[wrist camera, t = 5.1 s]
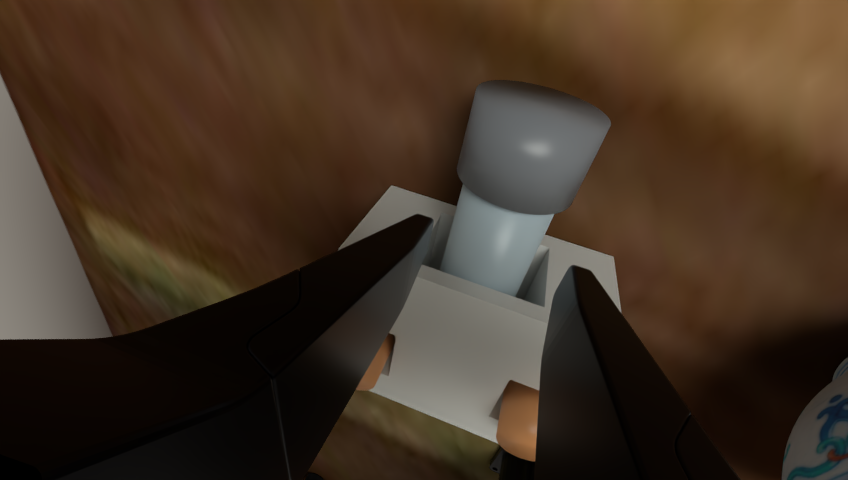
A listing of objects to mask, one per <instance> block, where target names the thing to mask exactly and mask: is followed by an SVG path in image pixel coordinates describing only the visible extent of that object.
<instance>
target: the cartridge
mask: <svg viewBox="0 0 848 480" xmlns="http://www.w3.org/2000/svg"><path fill="white" fill-rule="evenodd" d="M610 126H611V122H610V119H609V118H608V117H607V115H606V114H604V113H603V112H602V111H601V110H599V109H598V108H596V107H595V106H593V105H591V104H590V103H588V102H586V101H584V100H582V99H579V98H577V97H575V96H572V95H570V94H567V93H564V92H561V91H558V90H555V89H552V88H548V87H544V86H540V85H536V84H531V83H525V82H519V81H509V80H493V81H487V82H483V83H481V84H479V85H478V86H477V88H476V92H475V96H474V100H473V104H472V108H471V112H470V116H469V120H468V124H467V129H466V133H465V137H464V141H463V145H462V149H461V153H460V157H459V161H458V165H457V174H458V176H459V178H460V180H461V181H462V183H463V185H462V189H461V193H460V197H459V200H458V204H457V208H456V212H455V215H454V219H453V223H452V226H451V230H450V234H449V238H448V241H447V245H446V249H445V252H444V256H443V260H442V264H441V267H440V271H442V272H445V273H448V274H451V275H453V276H456V277H459V278H462V279H465V280H468V281H471V282H473V283H476V284H479V285H482V286H485V287H488V288H491V289H493V290H496V291H499V292H502V293H505V294H508V295H510V296H513V297H515V296H516V294H517V292H518V290H519V288H520V285H521V283H522V281H523V279H524V277H525V275H526V273H527V271H528V269H529V267H530V264H531V262H532V260H533V258H534V256H535V254H536V252H537V250H538V248H539V245H540V243H541V241H542V239H543V237H544V235H545V233H546V231H547V229H548V226H549V224H550V222H551V220H552V218H553V216H554V214H556V213H559V212H562V211H564V210H566V209H567V208H569V206H570V205H571V204H572V202H573V200H574V198H575V196H576V194H577V192H578V190H579V188H580V186H581V184H582V182H583V180H584V178H585V176H586V174H587V172H588V170H589V168H590V166H591V164H592V162H593V160H594V158H595V156H596V154H597V152H598V150H599V148H600V146H601V144H602V142H603V140H604V138H605V136H606V134H607V132H608V130H609V128H610Z"/></svg>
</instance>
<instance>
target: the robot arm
mask: <svg viewBox="0 0 848 480" xmlns="http://www.w3.org/2000/svg"><path fill="white" fill-rule="evenodd" d="M433 224H434V220H433V219H432V218H430V217H427V216H424V215H421V214H415V215H412V216H410V217H408V218H406V219H404V220H402V221H400V222H398V223H395V224H393V225H391V226H389V227H387V228H385V229H383V230H380V231H378V232H376V233H374V234H372V235H370V236H368V237H365V238H363V239H361V240H359V241H357V242H355V243H353V244H351V245H348V246H346V247H344V248H342V249H340V250H338V251H336V252H333V253H331V254H329V255H327V256H325V257H323V258H321V259H318V260H316V261H314V262H312V263H310V264H308V265H306V266H304V267H301V268H300V272H299V270H295V271H293V272H290V273H288V274H286V275H284V276H282V277H280V278H277V279H275V280H273V281H270V282H268V283H266V284H264V285H261V286H259V287H257V288H254V289H252V290H249V291H247V292H244V293H241V294H239V295H236V296H234V297H231V298H228V299H226V300H223V301H220V302H218V303H215V304H212V305H209V306H207V307H204V308H201V309H198V310H196V311H193V312H190V313H187V314H185V315H182V316H179V317H176V318H173V319H171V320H168V321H165V322H162V323H160V324H157V325H154V326H151V327H148V328H145V329H142V330H139V331H136V332H132V333H128V334H124V335H118V336H113V337H107V338H96V339H41V340H39V339H34V340H33V339H30V340H29V339H27V340H26V339H23V340H0V480H303V478H304V476H305V475H306V473H307V471H308V470H309V468H310V466H311V465H312V463H313V461H314V459H315V458H316V456H317V454H318V453H319V451H320V449H321V448H322V446H323V444H324V442H325V441H326V439H327V437H328V436H329V434H330V432H331V430H332V429H333V427H334V425H335V424H336V422H337V420H338V419H339V417H340V415H341V413H342V412H343V410H344V408H345V407H346V405H347V403H348V402H349V400H350V398H351V396H352V395H353V393H354V391H355V390H356V388H357V386H358V384H359V383H360V381H361V379H362V378H363V376H364V374H365V373H366V371H367V369H368V367H369V366H370V364H371V362H372V361H373V359H374V357H375V356H376V354H377V352H378V350H379V349H380V347H381V345H382V344H383V342H384V340H385V338H386V337H387V335H388V333H389V332H390V330H391V328H392V327H393V325H394V323H395V321H396V320H397V318H398V316H399V314H400V313H401V311H402V309H403V307H404V305H405V303H406V301H407V298H408V296H409V294H410V291H411V289H412V287H413V284H414V282H415V279H416V277H417V275H418V272H419V270H420V268H421V265H422V263H423V260H424V258H425V256H426V253H427V250H428V246H429V242H430V238H431V233H432V229H433ZM690 414H691V411H690V410H689V408H688V407H687V406H686V404H685V403H684V401H683V400H682V398H681V397H680V396H679V394H678V393H677V391H676V390H675V389H674V387H673V386H672V384H671V383H670V381H669V380H668V379H667V377H666V376H665V374H664V373H663V371H662V370H661V369H660V367H659V366H658V364H657V363H656V362H655V360H654V359H653V357H652V356H651V354H650V353H649V352H648V350H647V349H646V347H645V346H644V345H643V343H642V342H641V340H640V339H639V337H638V336H637V335H636V333H635V332H634V330H633V329H632V328H631V326H630V325H629V323H628V322H627V320H626V319H625V318H624V316H623V315H622V313H621V312H620V311H619V309H618V308H617V306H616V305H615V303H614V302H613V301H612V299H611V298H610V296H609V295H608V294H607V292H606V291H605V289H604V288H603V286H602V285H601V284H600V282H599V281H598V279H597V278H596V277H595V275H594V274H593V272H592V271H591V270H589V269H586V268H583V267H580V266H576V265H571V266H570V267H569V268H568V270H567V271H566V273H565V275H564V277H563V278H562V280H561V282H560V284H559V285H558V287H557V289H556V291H555V293H554V296H553V300H552V305H551V310H550V315H549V321H548V326H547V331H546V336H545V341H544V347H543V352H542V358H541V369H540V386H539V403H538V420H537V438H536V455H535V462H534V461H528V460H524V459H521V458H519V457H516V456H514V455H512V454H510V453H509V452H507V451H506V450H504V449H503V448H502V447H501V448H500V449H499V451H498V452H497V453H496V455H495V456H494V458H493V459H492V461H491V462H490V467H489V468H490V469H491V470H492V471H494V472H497V473H499V474H500V475H499V480H740V478H739V477H738V476H737V474H736V473H735V472H734V471H733V469H732V468H731V466H730V465H729V464H728V462H727V461H726V460H725V458H724V457H723V456H722V454H721V453H720V451H719V450H718V449H717V447H716V446H715V445H714V443H713V442H712V441H711V439H710V438H709V436H708V435H707V434H706V432H705V431H704V429H703V428H702V426H701V425H700V424H699V422H698V421H697V419H696V418H695V417H694V416H692V415H690Z"/></svg>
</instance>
